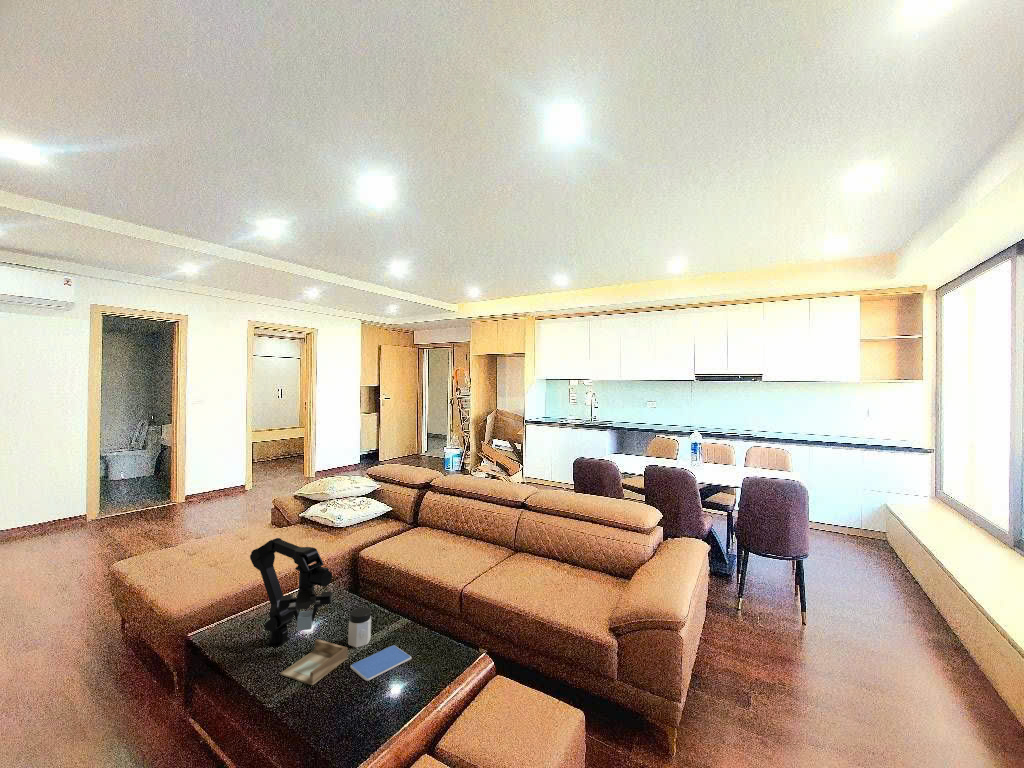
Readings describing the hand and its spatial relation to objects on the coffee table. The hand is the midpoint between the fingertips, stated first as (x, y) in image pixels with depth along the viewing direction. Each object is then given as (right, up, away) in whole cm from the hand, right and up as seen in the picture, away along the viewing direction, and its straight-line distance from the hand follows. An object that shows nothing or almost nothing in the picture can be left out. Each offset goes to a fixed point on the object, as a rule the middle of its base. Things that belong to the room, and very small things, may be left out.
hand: (305, 621), depth 173 cm
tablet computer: (+32, -12, -7) cm, 35 cm away
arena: (+8, -11, -10) cm, 17 cm away
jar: (+19, -12, +6) cm, 23 cm away
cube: (0, -2, 0) cm, 2 cm away
